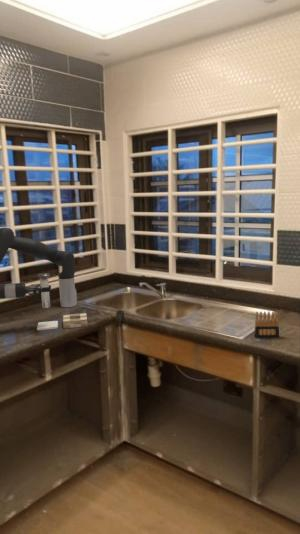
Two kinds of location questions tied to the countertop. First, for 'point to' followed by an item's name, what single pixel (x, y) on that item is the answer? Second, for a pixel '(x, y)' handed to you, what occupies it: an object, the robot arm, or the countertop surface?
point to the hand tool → (118, 318)
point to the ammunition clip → (266, 326)
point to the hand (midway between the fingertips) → (50, 288)
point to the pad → (47, 325)
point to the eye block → (75, 320)
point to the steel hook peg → (45, 295)
